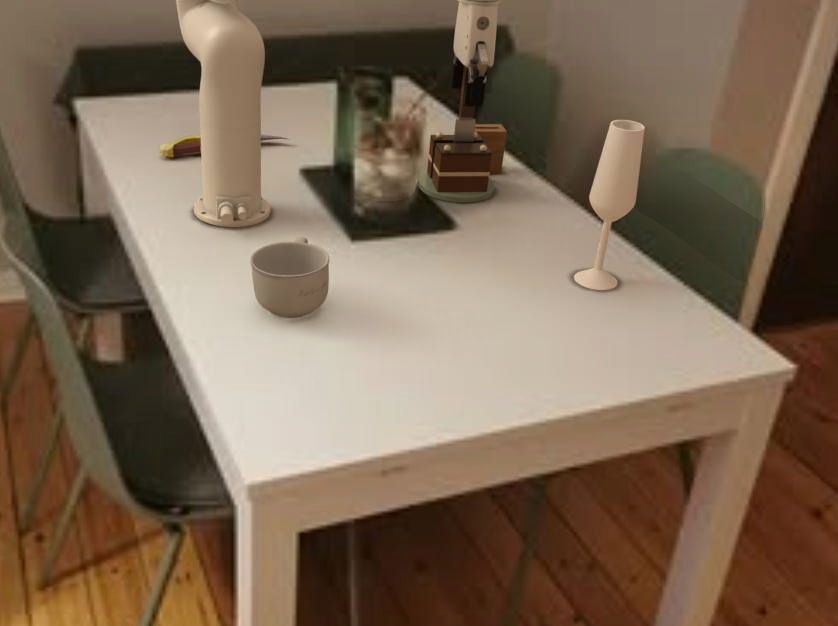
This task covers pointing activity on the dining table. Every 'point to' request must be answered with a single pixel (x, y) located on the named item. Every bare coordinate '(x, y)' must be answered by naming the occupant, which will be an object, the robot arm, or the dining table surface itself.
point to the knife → (193, 145)
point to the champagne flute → (613, 191)
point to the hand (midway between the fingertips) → (466, 96)
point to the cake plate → (429, 189)
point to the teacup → (290, 277)
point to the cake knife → (465, 116)
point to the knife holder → (493, 143)
